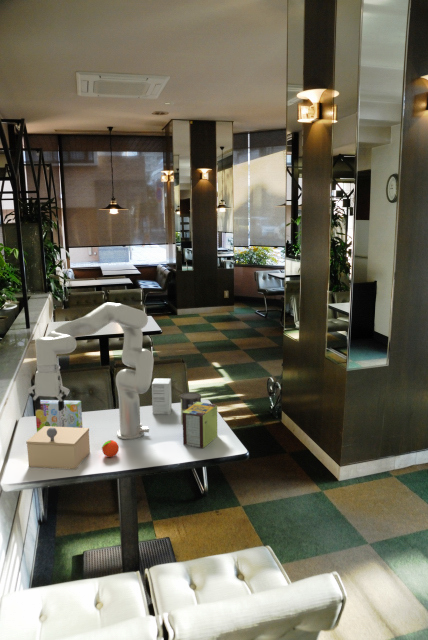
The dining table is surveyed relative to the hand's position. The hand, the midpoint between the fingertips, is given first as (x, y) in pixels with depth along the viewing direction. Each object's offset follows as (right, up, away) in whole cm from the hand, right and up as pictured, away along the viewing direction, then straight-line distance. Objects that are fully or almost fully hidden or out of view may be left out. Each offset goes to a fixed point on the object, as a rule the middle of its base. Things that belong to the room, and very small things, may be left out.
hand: (49, 409), depth 205 cm
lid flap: (+1, -13, +9) cm, 16 cm away
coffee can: (+55, -16, +50) cm, 76 cm away
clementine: (+22, -23, +13) cm, 34 cm away
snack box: (-8, -18, +41) cm, 45 cm away
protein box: (+60, -20, +29) cm, 69 cm away
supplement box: (+39, -13, +66) cm, 78 cm away
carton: (+1, -23, +11) cm, 25 cm away
